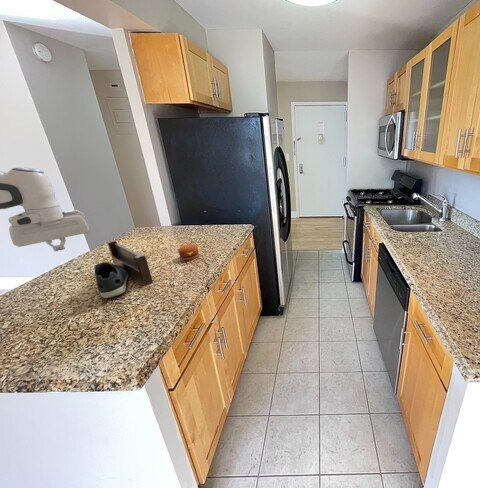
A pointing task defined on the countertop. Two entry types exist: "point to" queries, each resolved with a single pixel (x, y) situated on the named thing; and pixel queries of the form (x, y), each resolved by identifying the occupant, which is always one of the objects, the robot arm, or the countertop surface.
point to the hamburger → (188, 252)
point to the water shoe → (110, 279)
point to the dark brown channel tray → (130, 262)
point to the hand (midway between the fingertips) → (59, 250)
